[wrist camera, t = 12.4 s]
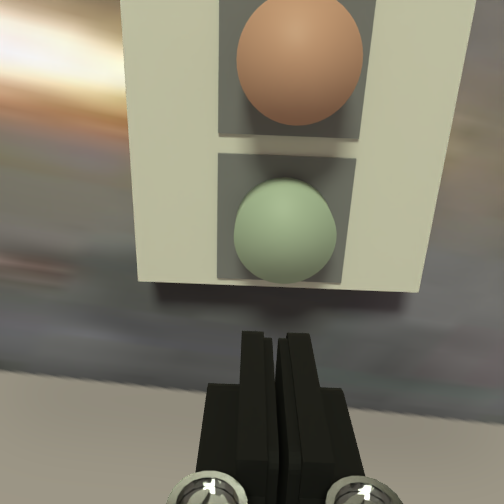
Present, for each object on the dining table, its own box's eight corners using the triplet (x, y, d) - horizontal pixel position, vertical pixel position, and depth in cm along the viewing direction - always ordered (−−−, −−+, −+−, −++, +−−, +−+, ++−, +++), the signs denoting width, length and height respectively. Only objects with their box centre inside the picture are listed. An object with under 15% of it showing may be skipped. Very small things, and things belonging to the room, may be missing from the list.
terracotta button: (237, 117, 21) (235, 123, 20) (240, -8, 19) (238, -14, 18) (346, 121, 21) (354, 127, 20) (360, -3, 19) (371, -9, 18)
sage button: (234, 265, 26) (232, 281, 24) (236, 175, 24) (234, 185, 22) (326, 269, 26) (331, 285, 24) (335, 179, 24) (342, 190, 22)
